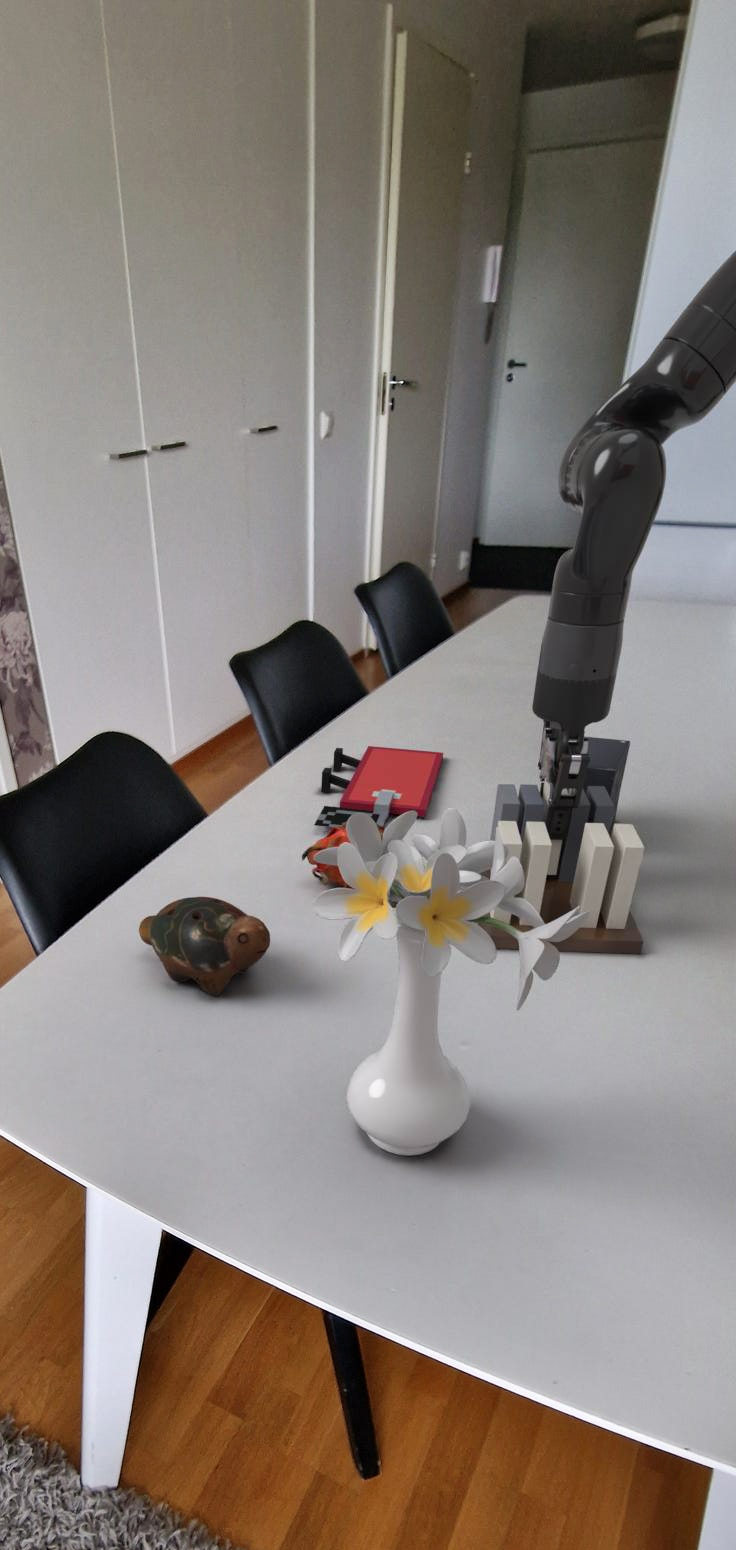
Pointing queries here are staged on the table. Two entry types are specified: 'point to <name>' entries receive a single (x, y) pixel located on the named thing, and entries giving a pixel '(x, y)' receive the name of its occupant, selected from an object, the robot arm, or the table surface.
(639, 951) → the board
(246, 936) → the decorative turtle
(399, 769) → the red board with handle
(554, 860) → the cream thin block
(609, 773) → the small box
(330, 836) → the dragon fruit
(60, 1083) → the table surface
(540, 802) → the grey books
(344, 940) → the flower vase
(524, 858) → the white books
